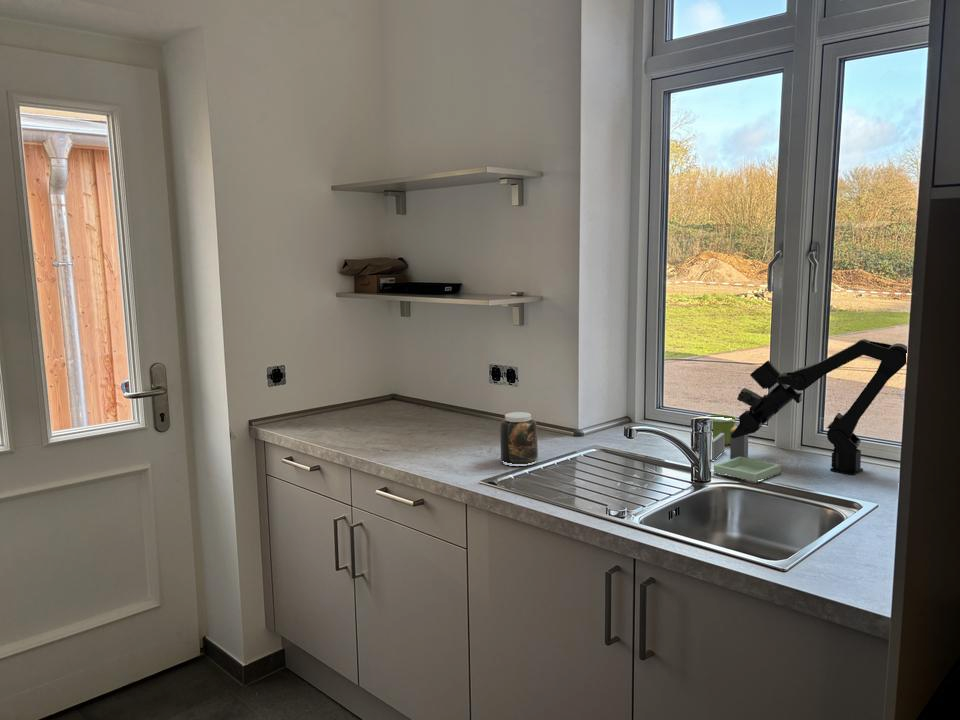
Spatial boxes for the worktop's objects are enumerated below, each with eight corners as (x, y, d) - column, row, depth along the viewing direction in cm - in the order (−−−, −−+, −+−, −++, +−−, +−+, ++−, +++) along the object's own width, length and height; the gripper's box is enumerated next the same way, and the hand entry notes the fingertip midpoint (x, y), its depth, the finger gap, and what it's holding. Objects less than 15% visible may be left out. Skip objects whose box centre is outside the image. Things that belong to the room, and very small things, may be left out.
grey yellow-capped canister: (748, 457, 226) (748, 427, 225) (743, 461, 222) (744, 430, 221) (734, 456, 228) (734, 425, 227) (730, 460, 224) (730, 429, 223)
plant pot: (738, 447, 238) (738, 421, 237) (707, 447, 240) (707, 420, 239) (734, 440, 247) (734, 414, 246) (704, 440, 249) (705, 414, 248)
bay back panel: (724, 451, 233) (724, 433, 233) (713, 461, 223) (713, 441, 223) (720, 451, 234) (720, 432, 233) (709, 460, 224) (709, 441, 223)
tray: (780, 473, 209) (781, 464, 209) (755, 483, 201) (755, 474, 201) (739, 464, 219) (739, 456, 219) (713, 473, 211) (713, 465, 211)
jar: (492, 463, 231) (491, 415, 229) (517, 455, 239) (515, 409, 237) (522, 469, 223) (520, 420, 221) (546, 460, 231) (544, 413, 229)
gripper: (762, 375, 227) (725, 408, 235) (747, 385, 212) (708, 419, 219) (789, 403, 224) (750, 435, 232) (775, 415, 209) (734, 448, 216)
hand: (735, 433), depth 225 cm, fingers open, 9 cm apart
